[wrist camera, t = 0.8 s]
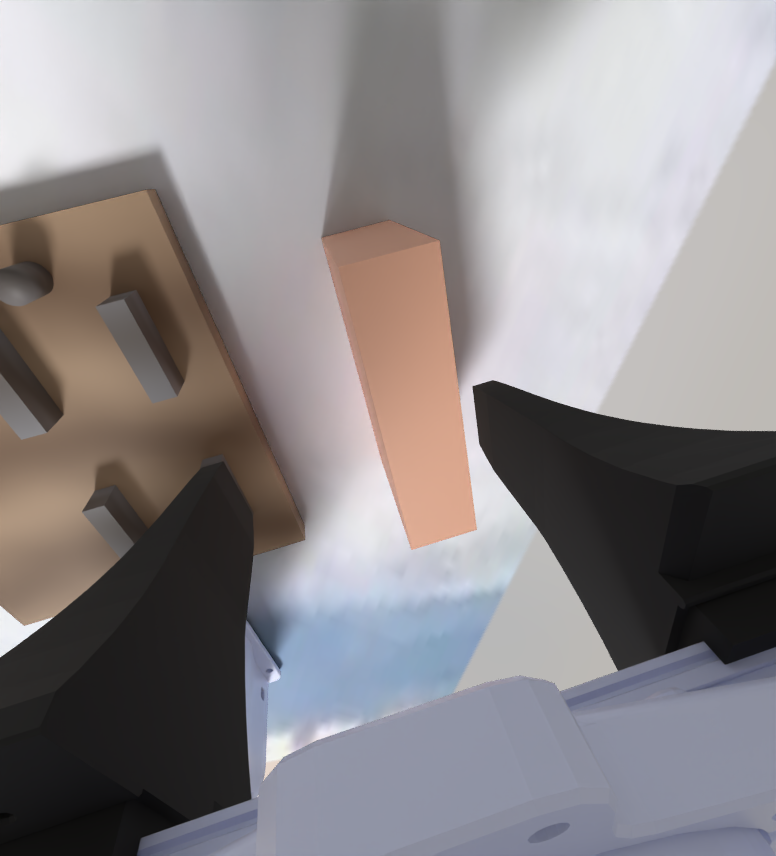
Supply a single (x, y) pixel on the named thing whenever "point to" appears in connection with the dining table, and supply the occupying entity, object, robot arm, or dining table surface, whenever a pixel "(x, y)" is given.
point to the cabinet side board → (111, 400)
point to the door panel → (407, 371)
